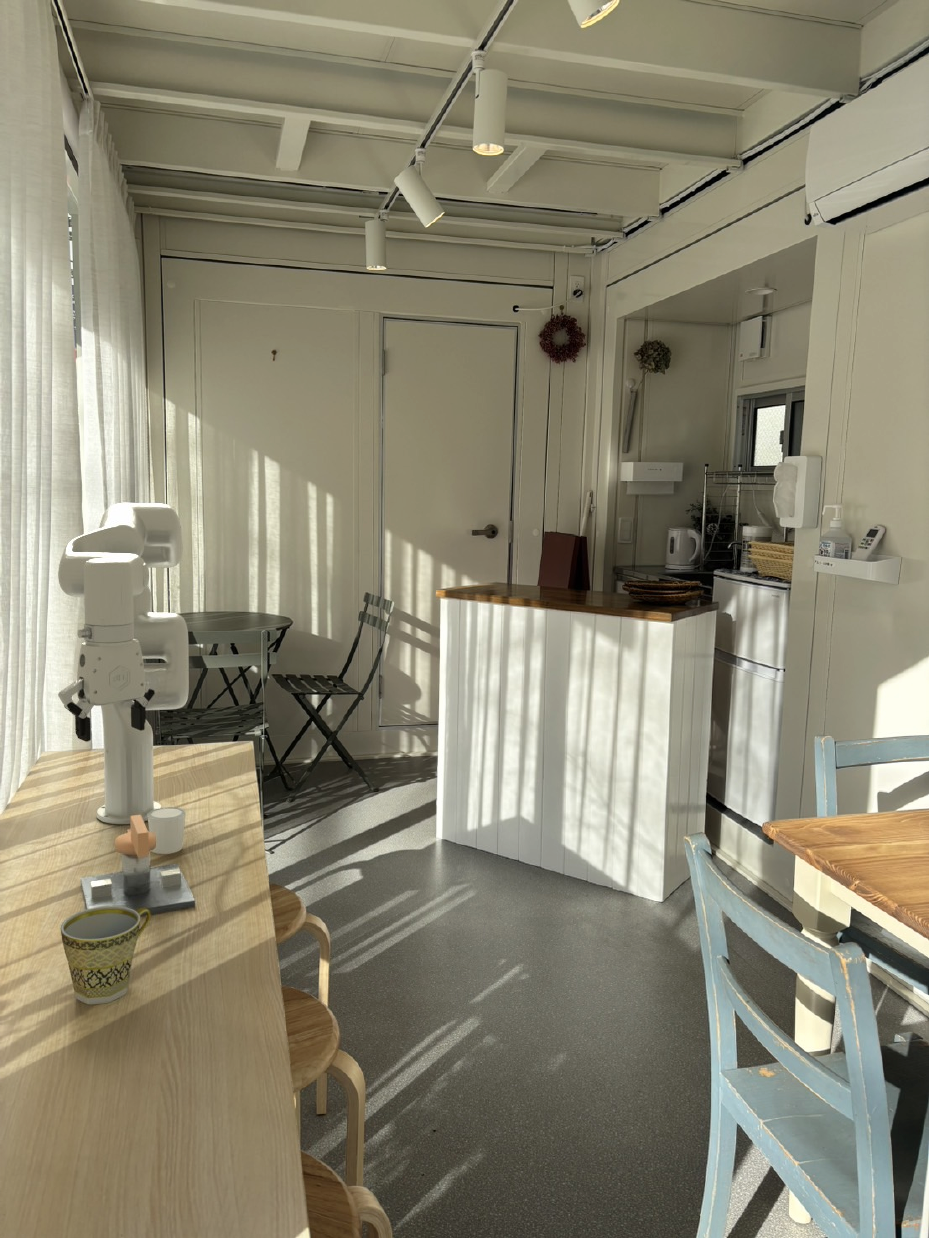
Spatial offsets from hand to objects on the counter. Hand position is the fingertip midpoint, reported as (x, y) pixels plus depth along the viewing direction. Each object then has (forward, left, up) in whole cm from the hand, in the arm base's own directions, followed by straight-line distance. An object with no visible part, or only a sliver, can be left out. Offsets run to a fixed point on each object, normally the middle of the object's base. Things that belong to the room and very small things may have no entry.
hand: (111, 734), depth 155 cm
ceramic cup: (+34, -4, -27) cm, 44 cm away
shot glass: (-13, +11, -27) cm, 32 cm away
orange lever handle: (+8, +3, -18) cm, 20 cm away
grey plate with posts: (+6, +3, -26) cm, 27 cm away
